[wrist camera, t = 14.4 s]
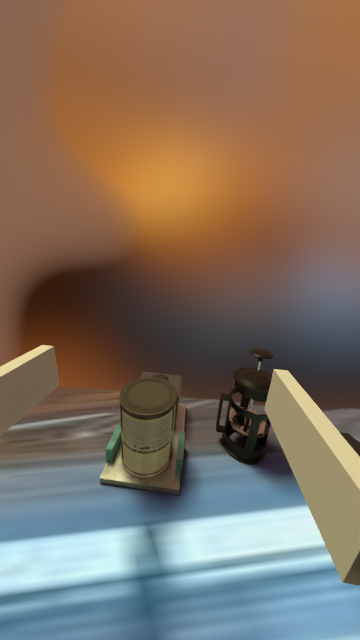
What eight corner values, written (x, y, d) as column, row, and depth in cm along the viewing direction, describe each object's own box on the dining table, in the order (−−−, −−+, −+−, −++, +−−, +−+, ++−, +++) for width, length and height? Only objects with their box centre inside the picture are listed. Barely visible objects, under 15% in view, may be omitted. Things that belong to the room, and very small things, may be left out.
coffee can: (113, 445, 40) (111, 386, 36) (157, 423, 46) (159, 371, 42) (133, 492, 32) (133, 424, 28) (182, 459, 38) (189, 399, 34)
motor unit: (186, 408, 53) (190, 372, 50) (179, 495, 33) (185, 444, 30) (135, 401, 54) (135, 366, 51) (98, 482, 34) (95, 432, 31)
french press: (261, 430, 48) (282, 345, 41) (274, 469, 39) (303, 367, 32) (213, 423, 49) (226, 338, 42) (215, 458, 40) (231, 358, 34)
